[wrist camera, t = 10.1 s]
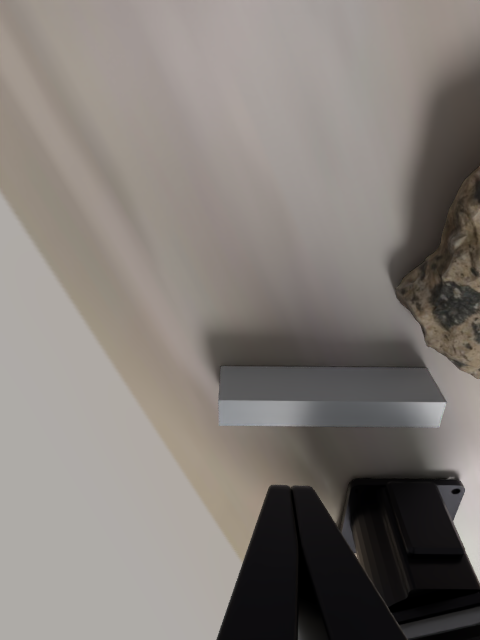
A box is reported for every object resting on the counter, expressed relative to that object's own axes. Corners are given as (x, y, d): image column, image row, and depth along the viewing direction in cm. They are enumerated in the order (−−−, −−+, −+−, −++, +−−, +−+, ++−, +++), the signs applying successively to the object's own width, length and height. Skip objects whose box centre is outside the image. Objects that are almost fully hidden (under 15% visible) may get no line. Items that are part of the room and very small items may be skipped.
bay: (425, 391, 23) (491, 515, 17) (221, 389, 23) (213, 512, 17) (616, -287, 11) (1034, -664, 5) (208, -290, 11) (170, -670, 5)
